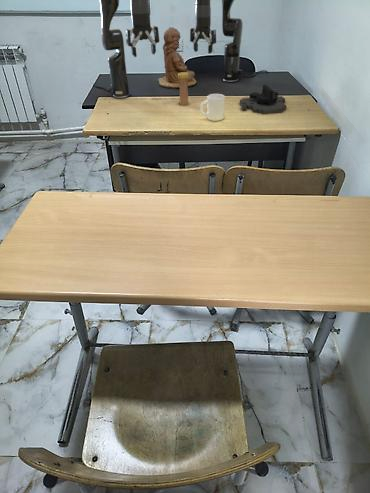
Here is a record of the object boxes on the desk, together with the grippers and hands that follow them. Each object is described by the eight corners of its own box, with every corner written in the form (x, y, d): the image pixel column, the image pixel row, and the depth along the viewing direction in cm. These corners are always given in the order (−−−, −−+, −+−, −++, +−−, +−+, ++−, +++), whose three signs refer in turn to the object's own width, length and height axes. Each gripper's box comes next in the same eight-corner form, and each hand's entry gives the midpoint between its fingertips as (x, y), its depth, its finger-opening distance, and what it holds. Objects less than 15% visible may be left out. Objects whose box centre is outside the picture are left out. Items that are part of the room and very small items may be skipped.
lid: (188, 75, 187) (188, 72, 186) (188, 78, 183) (188, 75, 182) (178, 75, 187) (178, 72, 186) (177, 78, 183) (177, 75, 182)
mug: (201, 122, 172) (201, 100, 166) (198, 116, 178) (198, 94, 172) (225, 120, 173) (226, 98, 167) (221, 114, 180) (222, 93, 173)
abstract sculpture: (248, 96, 172) (237, 84, 187) (247, 115, 178) (235, 102, 193) (298, 91, 175) (282, 80, 190) (294, 110, 181) (280, 98, 196)
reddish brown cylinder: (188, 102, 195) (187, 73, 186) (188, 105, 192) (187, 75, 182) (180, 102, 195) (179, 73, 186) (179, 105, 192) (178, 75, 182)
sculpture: (197, 88, 213) (196, 30, 194) (156, 89, 214) (152, 31, 194) (196, 75, 234) (196, 22, 215) (159, 76, 235) (156, 23, 215)
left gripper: (152, 8, 151) (156, 51, 161) (120, 12, 146) (126, 55, 157) (159, 10, 146) (162, 55, 156) (126, 14, 141) (131, 59, 152)
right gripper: (219, 14, 173) (218, 52, 183) (195, 13, 179) (195, 49, 190) (211, 17, 168) (210, 55, 179) (186, 15, 175) (187, 52, 185)
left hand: (144, 55), depth 157 cm, fingers open, 8 cm apart
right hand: (202, 52), depth 184 cm, fingers open, 8 cm apart
